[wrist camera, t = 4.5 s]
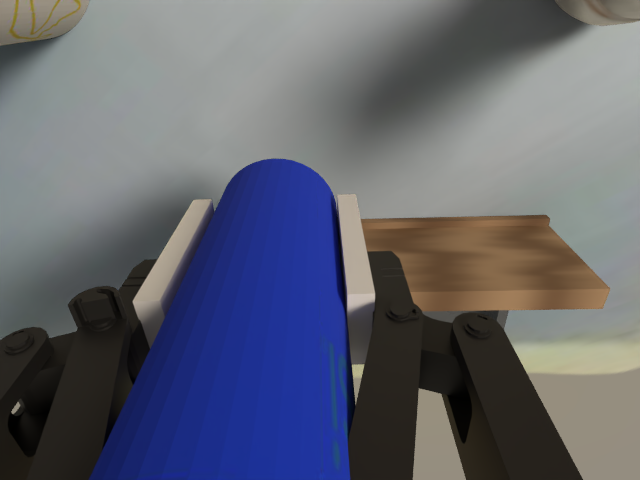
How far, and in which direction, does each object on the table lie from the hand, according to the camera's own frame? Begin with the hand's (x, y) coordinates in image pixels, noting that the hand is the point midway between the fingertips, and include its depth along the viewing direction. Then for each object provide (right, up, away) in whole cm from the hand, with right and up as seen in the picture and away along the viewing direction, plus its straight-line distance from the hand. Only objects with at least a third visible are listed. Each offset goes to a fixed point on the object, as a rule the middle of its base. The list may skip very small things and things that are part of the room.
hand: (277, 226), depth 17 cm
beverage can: (0, +1, +2) cm, 2 cm away
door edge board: (+9, 0, +13) cm, 16 cm away
